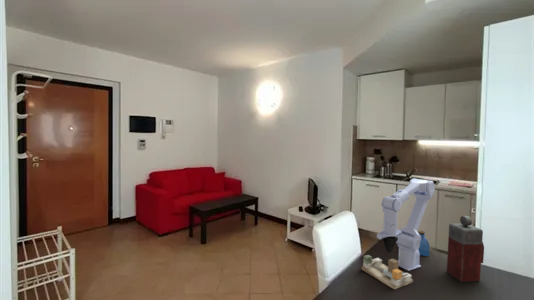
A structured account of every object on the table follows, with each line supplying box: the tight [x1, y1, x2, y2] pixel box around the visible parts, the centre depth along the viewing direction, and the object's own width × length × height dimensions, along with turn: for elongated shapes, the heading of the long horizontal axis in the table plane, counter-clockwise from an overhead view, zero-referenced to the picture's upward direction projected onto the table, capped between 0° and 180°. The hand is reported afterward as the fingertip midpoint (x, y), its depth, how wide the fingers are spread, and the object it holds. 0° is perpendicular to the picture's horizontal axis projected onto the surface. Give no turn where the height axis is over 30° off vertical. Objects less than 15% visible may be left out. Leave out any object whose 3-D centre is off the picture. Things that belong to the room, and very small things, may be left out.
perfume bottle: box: [417, 230, 430, 257], centre depth 145 cm, size 6×6×12 cm
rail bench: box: [361, 254, 414, 290], centre depth 121 cm, size 12×18×6 cm, turn 27°
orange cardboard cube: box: [392, 268, 403, 280], centre depth 113 cm, size 3×2×3 cm
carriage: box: [383, 258, 404, 278], centre depth 118 cm, size 7×5×6 cm
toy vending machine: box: [446, 215, 485, 282], centre depth 121 cm, size 9×11×28 cm
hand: (388, 251), depth 123 cm, fingers closed
